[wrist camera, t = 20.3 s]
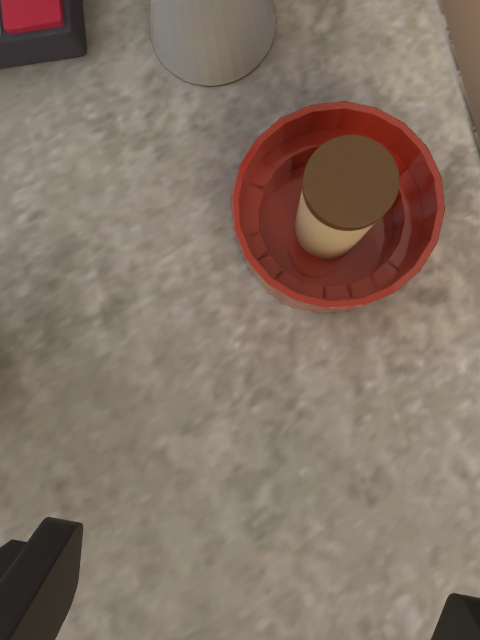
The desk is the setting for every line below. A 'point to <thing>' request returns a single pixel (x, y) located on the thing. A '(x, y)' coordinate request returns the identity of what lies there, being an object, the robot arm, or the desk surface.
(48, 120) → the desk surface
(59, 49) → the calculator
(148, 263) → the desk surface
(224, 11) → the lamp
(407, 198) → the bowl
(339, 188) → the tea tin
